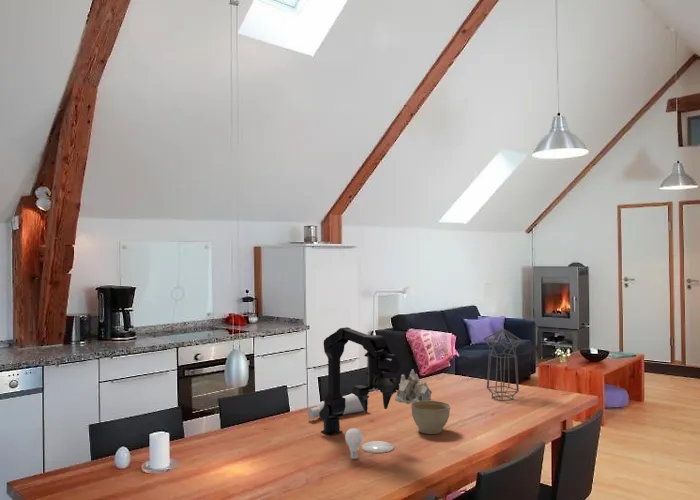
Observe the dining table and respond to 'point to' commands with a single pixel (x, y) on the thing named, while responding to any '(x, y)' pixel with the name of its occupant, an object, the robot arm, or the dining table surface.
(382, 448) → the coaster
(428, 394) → the ceramic cottage
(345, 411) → the bottle
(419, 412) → the planter bowl
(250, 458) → the dining table surface
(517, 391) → the geometric lantern
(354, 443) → the lightbulb
